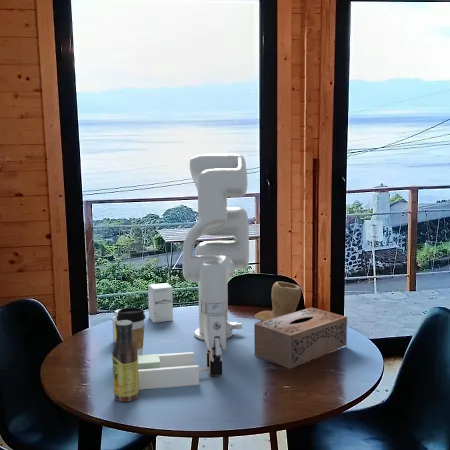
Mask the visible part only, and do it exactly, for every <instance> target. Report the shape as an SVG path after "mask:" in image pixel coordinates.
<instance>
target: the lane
mask: <svg viewBox="0 0 450 450" xmlns="http://www.w3.org/2000/svg"><path fill="white" fill-rule="evenodd" d="M158 354H159V353H158ZM159 359H160V368H152V369H139V370H138V381H139V391H142V390H151V389H164V388H165V389H166V388H176V387H187V386H199V385H200V372H199V369H200V366H199V364H198V365H197V364H195V352H194V351H187V352H177V353H176V352H175V353H160V354H159Z"/></svg>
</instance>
